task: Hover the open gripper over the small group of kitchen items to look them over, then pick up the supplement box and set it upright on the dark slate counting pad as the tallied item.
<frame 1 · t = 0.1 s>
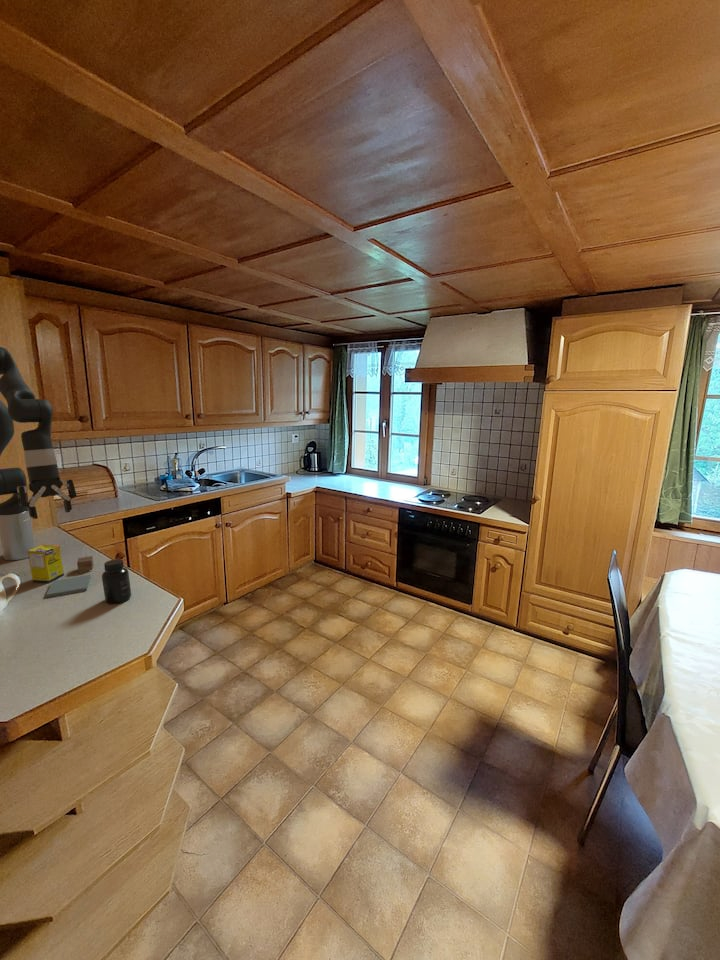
hand: (51, 515, 123), 23 cm above the counter, tool pointing down, fingers open, 8 cm apart
walnut block: (86, 569, 137), on the counter
supplement bottle: (118, 599, 118), on the counter
counting pad: (69, 587, 124), on the counter
supplement box: (48, 579, 129), on the counter
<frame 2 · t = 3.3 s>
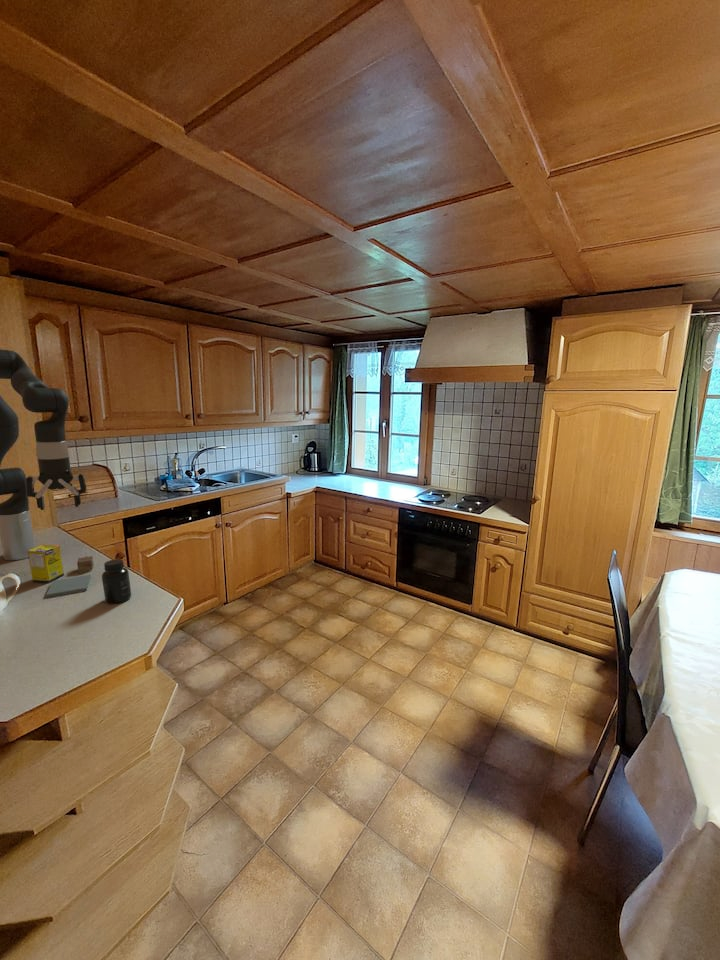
hand: (60, 507, 120), 26 cm above the counter, tool pointing down, fingers open, 8 cm apart
nothing on the counter moved.
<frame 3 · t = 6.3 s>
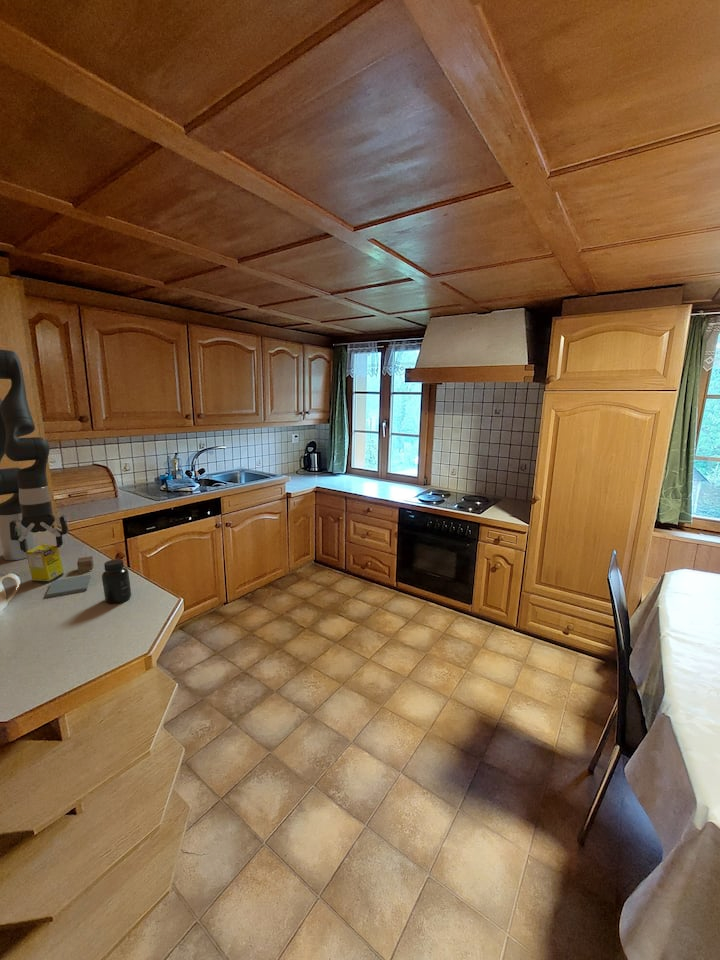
hand: (42, 549, 126), 11 cm above the counter, tool pointing down, fingers open, 8 cm apart
supplement box: (48, 578, 129), on the counter, touching gripper
everything else where it was.
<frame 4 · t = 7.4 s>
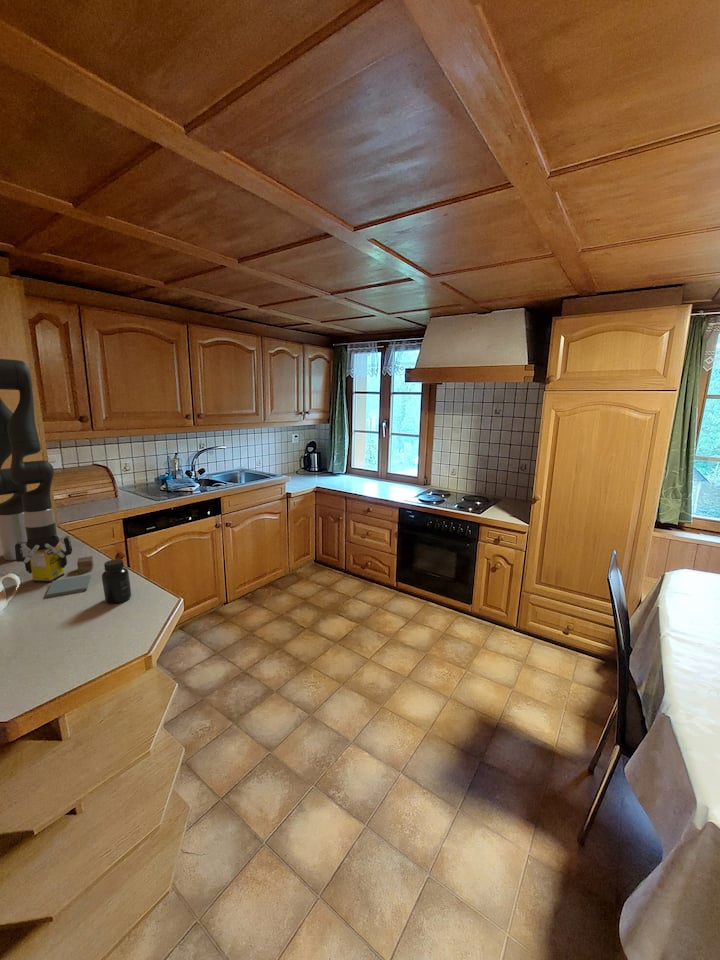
hand: (47, 569, 129), 3 cm above the counter, tool pointing down, fingers closed on supplement box, 8 cm apart
supplement box: (49, 579, 129), on the counter, touching gripper
everything else where it was.
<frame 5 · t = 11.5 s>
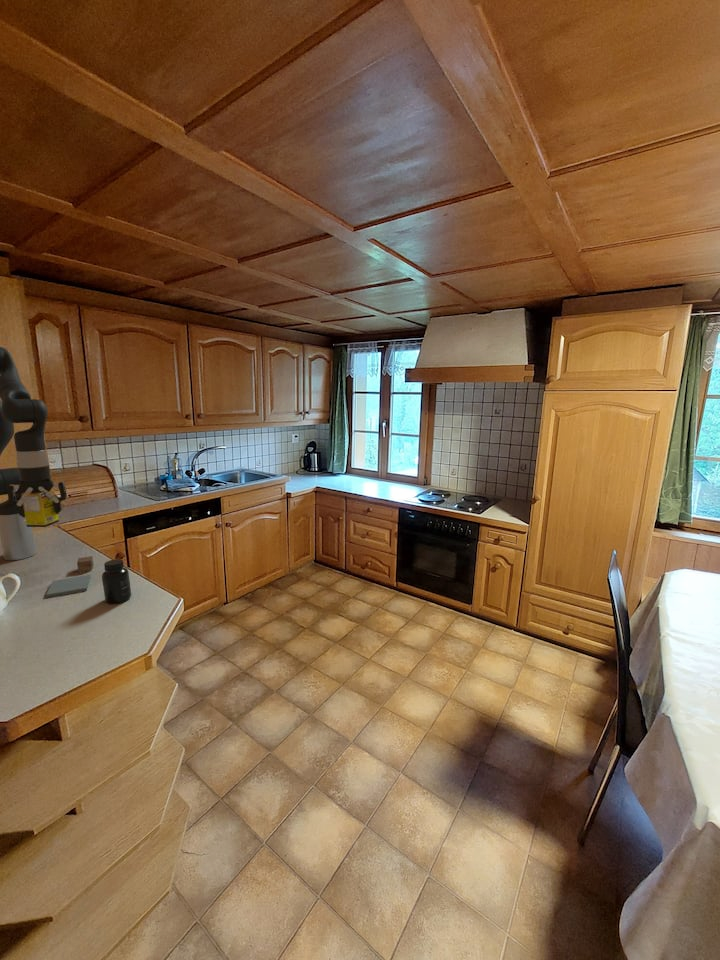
hand: (41, 515, 124), 22 cm above the counter, tool pointing down, fingers closed on supplement box, 8 cm apart
supplement box: (43, 525, 125), point 19 cm above the counter, touching gripper
everything else where it was.
when the fingers open (5 cm above the counter, at t = 15.6 s): supplement box drops 1 cm, resting on counting pad.
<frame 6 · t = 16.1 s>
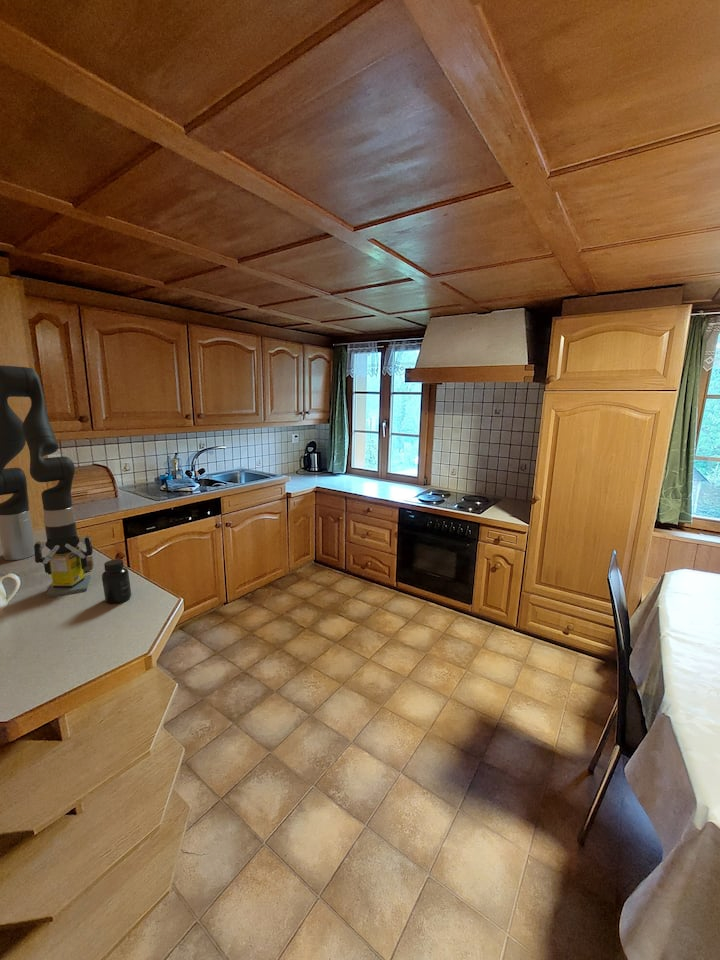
hand: (67, 570, 123), 6 cm above the counter, tool pointing down, fingers open, 8 cm apart
supplement box: (69, 584, 124), point 1 cm above the counter, touching counting pad
everything else where it was.
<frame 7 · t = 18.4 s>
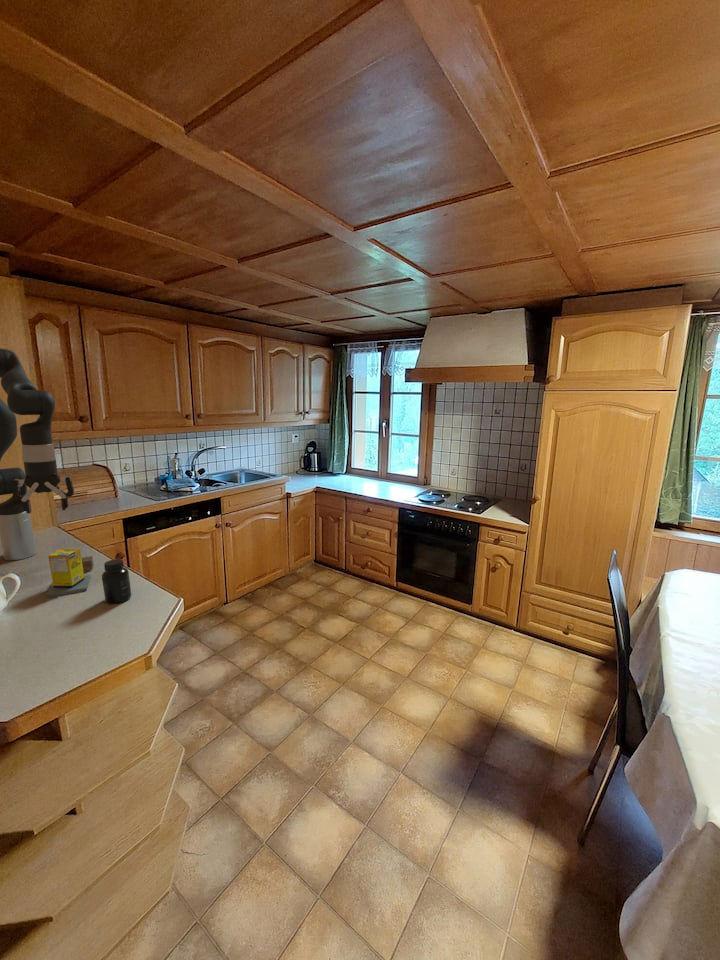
hand: (47, 511, 119), 25 cm above the counter, tool pointing down, fingers open, 8 cm apart
nothing on the counter moved.
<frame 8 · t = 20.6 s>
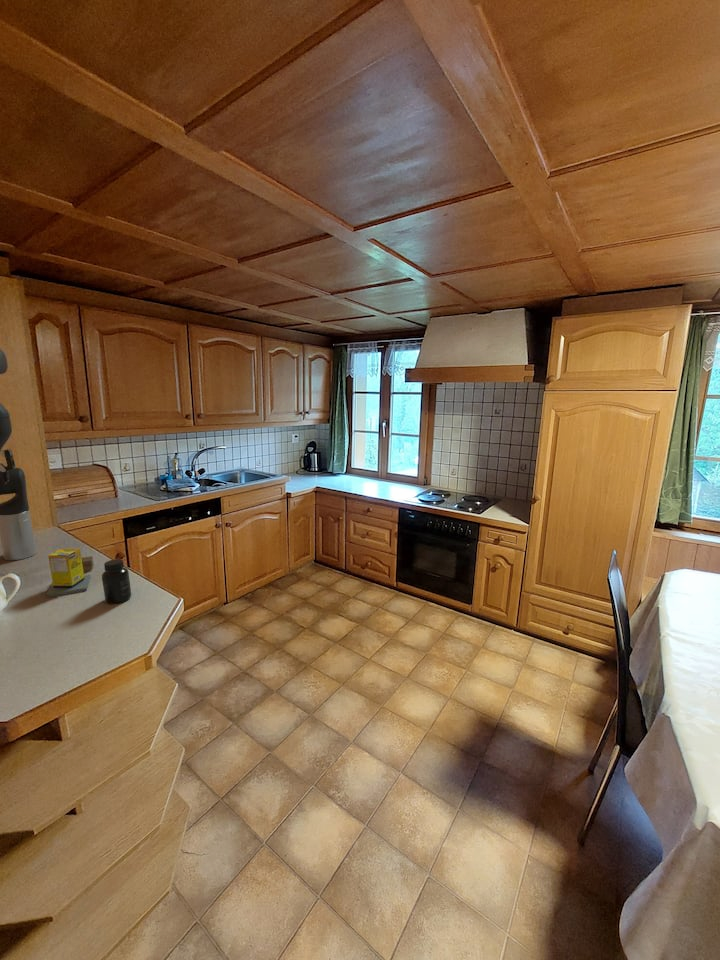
nothing on the counter moved.
at the end: supplement box inside the target area on the counting pad (0.4 cm from its centre), point 0.8 cm above the counting pad's base; supplement box tilted 0°; walnut block moved 0.1 cm from its start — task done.
